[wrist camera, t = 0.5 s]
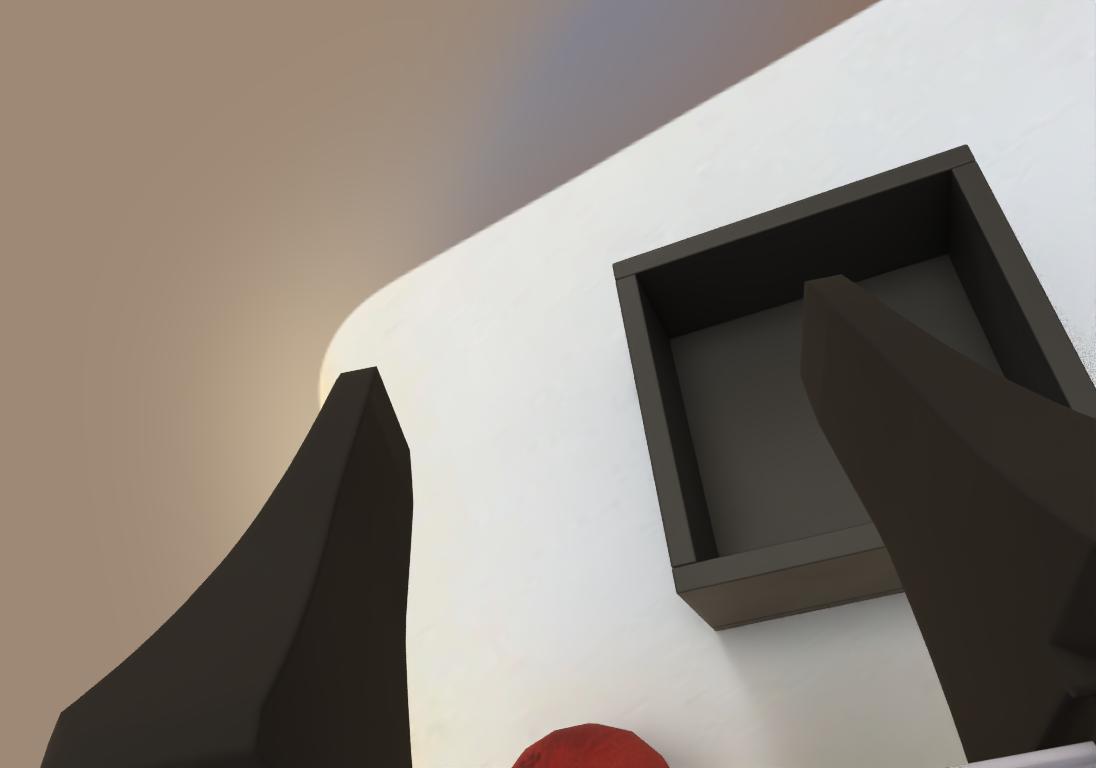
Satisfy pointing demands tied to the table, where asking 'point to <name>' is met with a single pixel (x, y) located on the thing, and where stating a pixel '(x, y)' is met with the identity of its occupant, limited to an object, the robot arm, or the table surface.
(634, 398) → the table surface
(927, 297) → the open storage bin
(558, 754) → the onion
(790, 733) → the table surface
